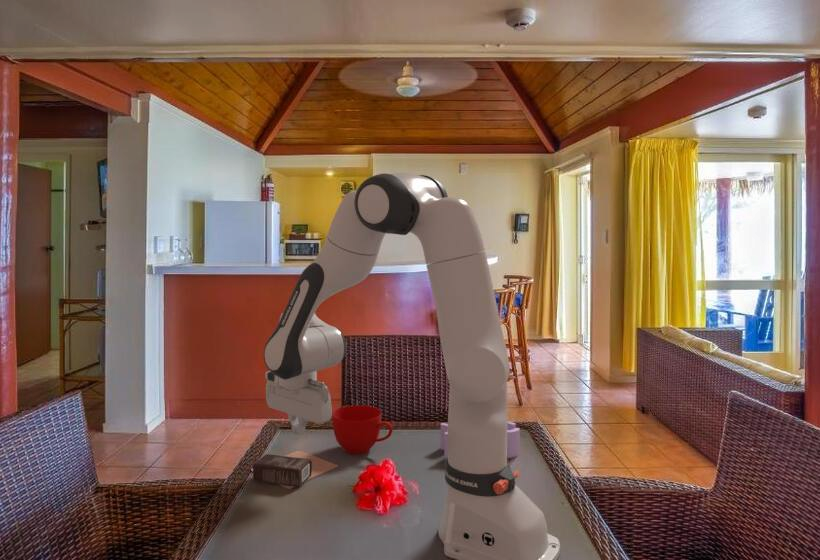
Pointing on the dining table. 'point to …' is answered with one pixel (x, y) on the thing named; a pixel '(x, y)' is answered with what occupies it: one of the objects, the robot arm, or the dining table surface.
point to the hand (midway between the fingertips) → (298, 433)
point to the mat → (317, 465)
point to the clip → (512, 440)
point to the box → (282, 470)
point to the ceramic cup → (358, 428)
